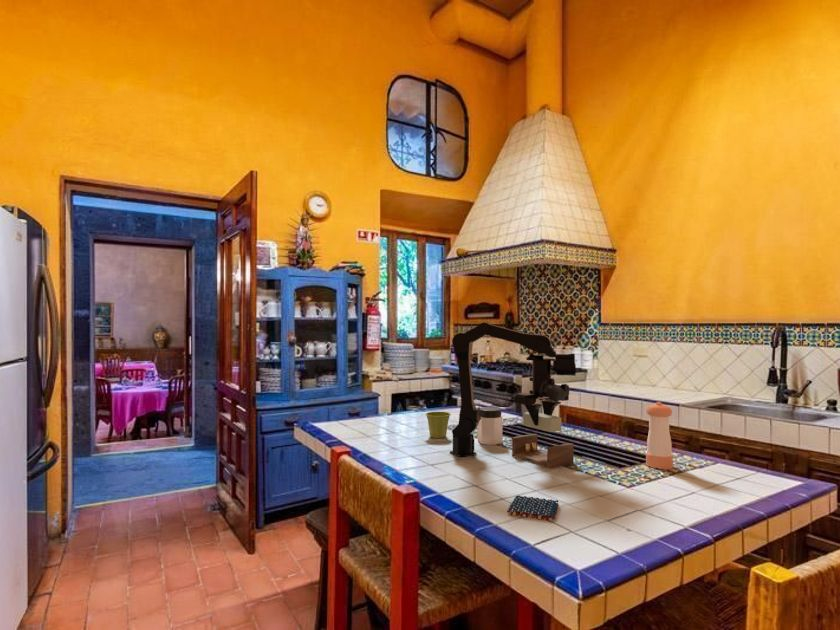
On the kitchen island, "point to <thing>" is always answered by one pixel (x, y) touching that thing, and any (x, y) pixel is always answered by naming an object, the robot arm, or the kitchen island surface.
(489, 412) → the jar
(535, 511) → the woven mat
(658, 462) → the pepper shaker
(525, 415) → the beige rectangular block
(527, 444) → the shelf frame
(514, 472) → the kitchen island surface
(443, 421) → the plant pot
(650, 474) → the kitchen island surface
